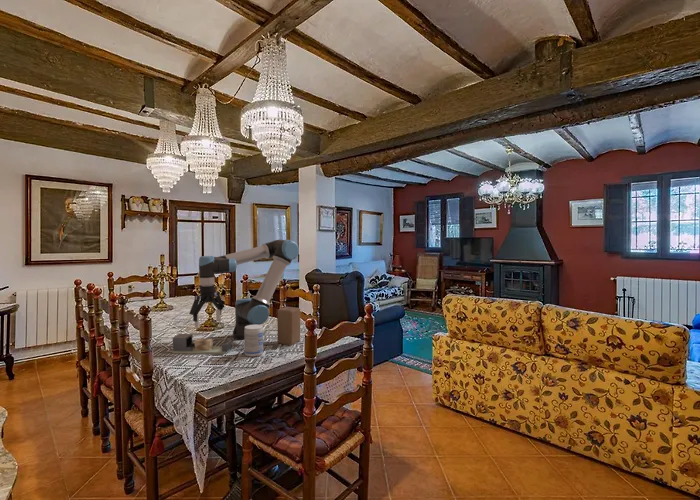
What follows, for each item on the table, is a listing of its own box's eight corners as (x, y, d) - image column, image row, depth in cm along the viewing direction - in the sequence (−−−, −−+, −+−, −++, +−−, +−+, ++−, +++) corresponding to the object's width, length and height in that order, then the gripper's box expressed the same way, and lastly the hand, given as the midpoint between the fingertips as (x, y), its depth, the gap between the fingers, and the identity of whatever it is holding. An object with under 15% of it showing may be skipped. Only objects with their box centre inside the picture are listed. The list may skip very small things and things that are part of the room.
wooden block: (300, 341, 212) (300, 307, 211) (291, 346, 203) (291, 311, 201) (286, 338, 216) (286, 306, 215) (276, 343, 207) (276, 309, 206)
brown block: (194, 350, 191) (194, 340, 191) (198, 347, 195) (197, 338, 195) (209, 350, 191) (209, 341, 191) (212, 347, 195) (212, 338, 195)
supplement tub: (263, 356, 186) (262, 328, 185) (243, 357, 184) (243, 329, 183) (263, 350, 195) (263, 323, 194) (245, 351, 193) (244, 324, 192)
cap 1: (197, 346, 197) (197, 334, 197) (191, 351, 190) (191, 338, 189) (179, 346, 197) (179, 333, 197) (172, 350, 190) (172, 337, 189)
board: (230, 348, 198) (230, 346, 198) (225, 353, 189) (225, 352, 189) (180, 347, 198) (180, 345, 198) (172, 353, 189) (172, 351, 189)
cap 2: (232, 346, 197) (232, 339, 197) (227, 351, 190) (227, 344, 189) (226, 346, 197) (226, 339, 197) (221, 351, 190) (221, 344, 189)
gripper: (221, 281, 204) (222, 318, 206) (181, 287, 183) (182, 328, 184) (230, 282, 200) (231, 319, 202) (190, 289, 179) (191, 330, 180)
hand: (208, 324), depth 193 cm, fingers open, 13 cm apart
